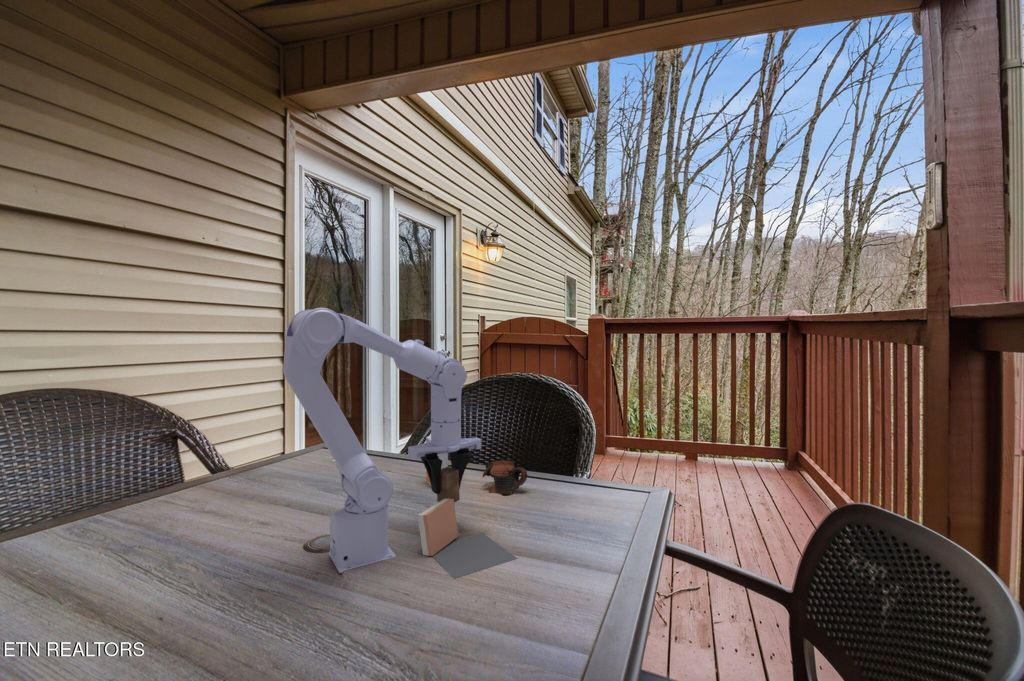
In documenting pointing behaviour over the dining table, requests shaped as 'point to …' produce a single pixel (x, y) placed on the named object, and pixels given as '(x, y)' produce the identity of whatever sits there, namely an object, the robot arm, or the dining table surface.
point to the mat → (471, 555)
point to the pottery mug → (504, 476)
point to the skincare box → (441, 456)
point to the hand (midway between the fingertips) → (445, 490)
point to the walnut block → (449, 484)
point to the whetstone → (437, 526)
